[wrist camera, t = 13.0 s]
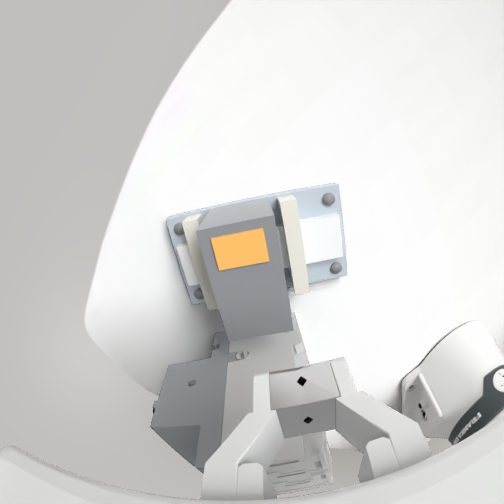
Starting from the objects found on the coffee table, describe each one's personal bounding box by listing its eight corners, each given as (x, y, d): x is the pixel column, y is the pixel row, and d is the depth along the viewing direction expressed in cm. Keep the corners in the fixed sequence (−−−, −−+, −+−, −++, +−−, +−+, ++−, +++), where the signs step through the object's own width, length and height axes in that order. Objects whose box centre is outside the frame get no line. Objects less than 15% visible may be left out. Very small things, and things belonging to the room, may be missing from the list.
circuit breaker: (163, 344, 27) (121, 463, 13) (294, 312, 26) (327, 450, 12) (192, 388, 30) (172, 497, 16) (309, 363, 28) (336, 482, 14)
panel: (343, 269, 24) (354, 284, 22) (194, 297, 25) (188, 315, 22) (334, 182, 22) (346, 187, 19) (169, 216, 22) (159, 225, 20)
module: (284, 288, 24) (294, 331, 18) (233, 297, 24) (228, 342, 18) (267, 197, 21) (274, 215, 15) (210, 209, 21) (195, 231, 15)
